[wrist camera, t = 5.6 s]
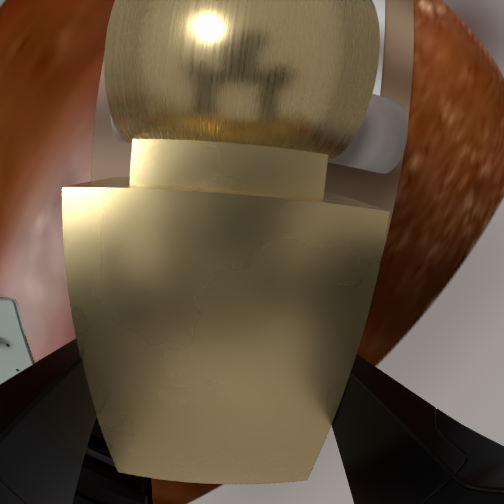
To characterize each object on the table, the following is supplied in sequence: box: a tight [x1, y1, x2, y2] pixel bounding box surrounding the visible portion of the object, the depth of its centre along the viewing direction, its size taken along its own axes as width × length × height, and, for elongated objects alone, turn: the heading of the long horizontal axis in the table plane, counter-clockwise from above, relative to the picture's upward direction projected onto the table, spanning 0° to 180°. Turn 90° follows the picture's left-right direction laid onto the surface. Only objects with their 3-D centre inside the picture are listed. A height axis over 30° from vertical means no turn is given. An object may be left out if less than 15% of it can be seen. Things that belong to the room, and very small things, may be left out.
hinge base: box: [91, 0, 414, 255], centre depth 14 cm, size 24×18×5 cm
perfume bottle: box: [62, 0, 390, 484], centre depth 6 cm, size 13×6×4 cm, turn 174°
